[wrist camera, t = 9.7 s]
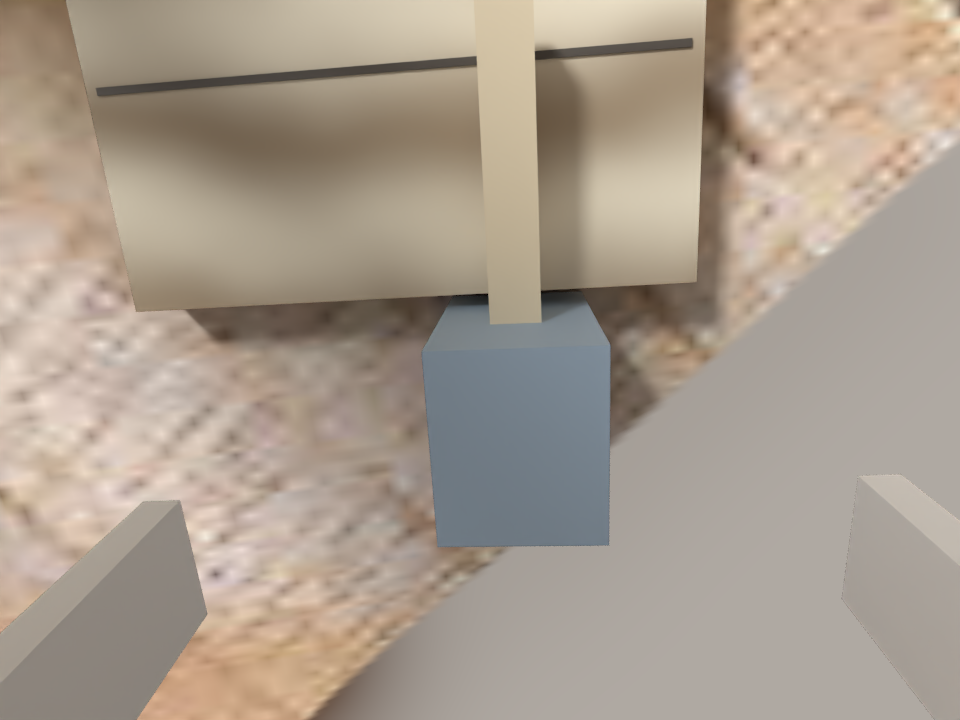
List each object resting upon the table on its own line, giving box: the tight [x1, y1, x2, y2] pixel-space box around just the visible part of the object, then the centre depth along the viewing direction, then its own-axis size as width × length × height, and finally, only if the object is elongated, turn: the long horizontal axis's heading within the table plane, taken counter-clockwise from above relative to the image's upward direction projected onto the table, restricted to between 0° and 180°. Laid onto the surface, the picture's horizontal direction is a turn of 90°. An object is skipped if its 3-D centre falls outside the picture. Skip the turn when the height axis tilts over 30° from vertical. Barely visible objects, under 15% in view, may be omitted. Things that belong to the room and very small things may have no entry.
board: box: [66, 0, 707, 312], centre depth 21 cm, size 12×20×3 cm, turn 94°
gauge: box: [422, 0, 611, 547], centre depth 20 cm, size 15×5×8 cm, turn 3°
